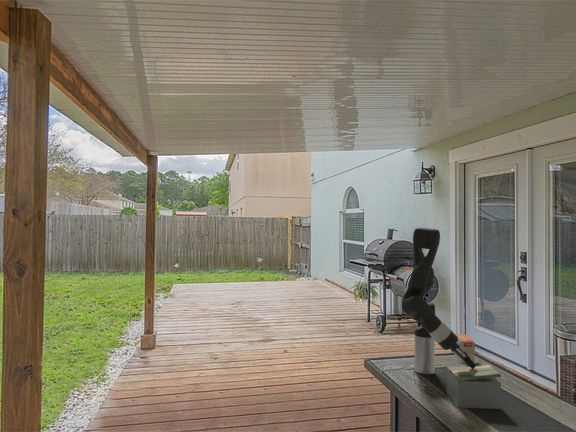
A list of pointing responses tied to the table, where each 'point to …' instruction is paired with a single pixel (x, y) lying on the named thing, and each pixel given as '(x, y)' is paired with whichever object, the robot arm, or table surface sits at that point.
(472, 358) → the cracker box
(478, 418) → the table surface
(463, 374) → the lid
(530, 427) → the table surface
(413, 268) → the robot arm
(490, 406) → the block
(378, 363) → the table surface
